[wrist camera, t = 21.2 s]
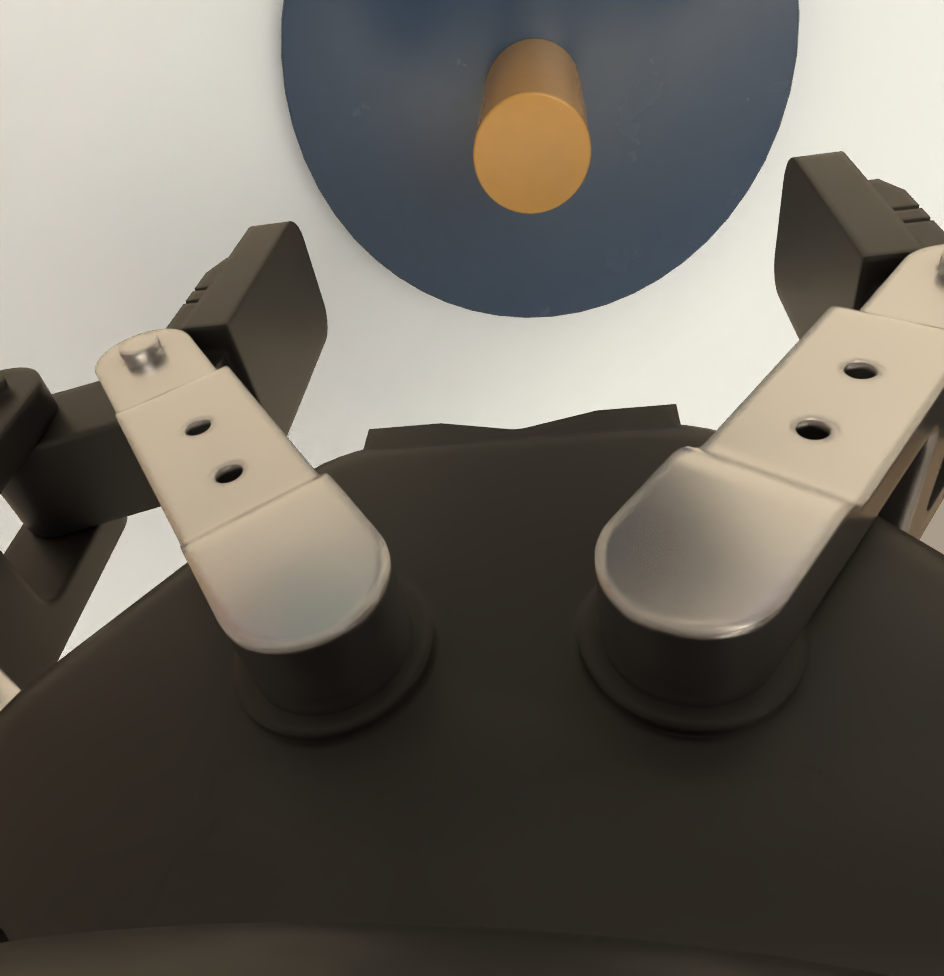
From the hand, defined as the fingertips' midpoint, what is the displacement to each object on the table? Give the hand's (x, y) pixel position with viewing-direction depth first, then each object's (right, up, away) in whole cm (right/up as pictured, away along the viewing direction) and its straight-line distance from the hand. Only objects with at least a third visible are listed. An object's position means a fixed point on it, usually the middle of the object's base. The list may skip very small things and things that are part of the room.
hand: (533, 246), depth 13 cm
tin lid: (+1, +7, +8) cm, 11 cm away
